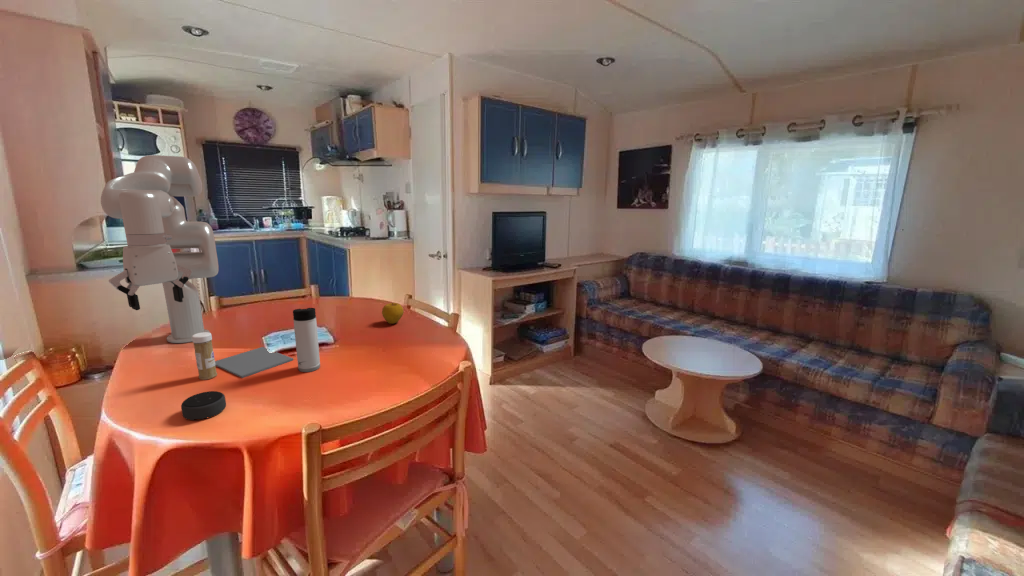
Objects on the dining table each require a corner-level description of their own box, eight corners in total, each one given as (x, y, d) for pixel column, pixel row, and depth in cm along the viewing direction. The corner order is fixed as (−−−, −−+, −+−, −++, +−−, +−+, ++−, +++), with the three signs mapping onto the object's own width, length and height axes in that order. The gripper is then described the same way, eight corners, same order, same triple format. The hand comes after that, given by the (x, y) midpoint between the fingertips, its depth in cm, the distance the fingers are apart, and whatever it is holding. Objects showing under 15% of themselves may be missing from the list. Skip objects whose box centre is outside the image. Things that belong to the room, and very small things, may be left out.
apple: (400, 326, 171) (399, 306, 169) (379, 326, 171) (378, 305, 169) (406, 320, 180) (405, 300, 178) (386, 319, 180) (385, 299, 178)
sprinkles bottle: (217, 378, 122) (210, 335, 119) (198, 381, 119) (190, 338, 116) (217, 372, 126) (211, 330, 122) (199, 375, 123) (192, 333, 120)
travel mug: (298, 374, 126) (292, 311, 121) (298, 366, 131) (292, 306, 127) (320, 370, 129) (315, 309, 124) (319, 362, 134) (314, 304, 130)
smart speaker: (212, 422, 100) (210, 407, 99) (174, 422, 99) (171, 407, 98) (233, 403, 109) (232, 389, 108) (198, 403, 108) (196, 390, 107)
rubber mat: (211, 364, 131) (211, 362, 131) (262, 348, 144) (262, 346, 144) (242, 378, 122) (242, 376, 122) (293, 360, 136) (293, 358, 136)
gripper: (179, 236, 114) (189, 296, 118) (95, 242, 100) (109, 310, 104) (192, 238, 111) (202, 300, 115) (107, 245, 96) (121, 315, 100)
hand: (158, 305), depth 109 cm, fingers open, 8 cm apart
